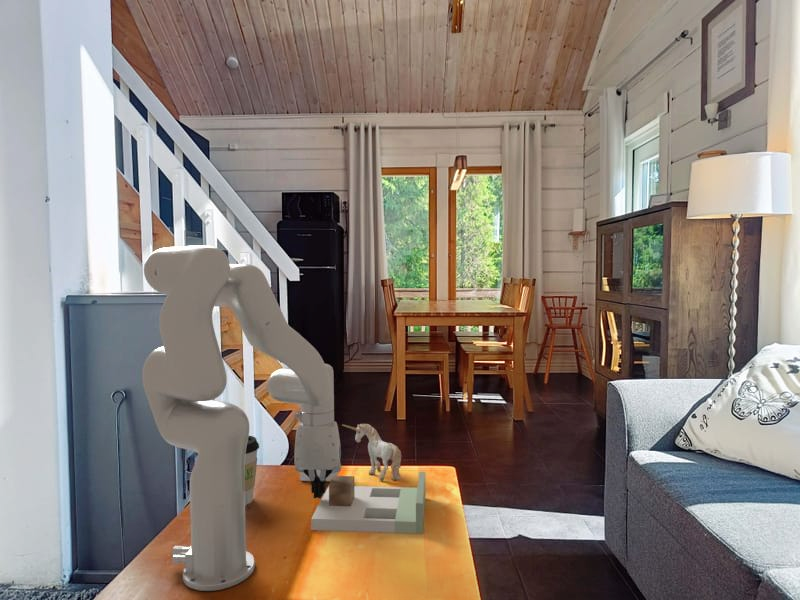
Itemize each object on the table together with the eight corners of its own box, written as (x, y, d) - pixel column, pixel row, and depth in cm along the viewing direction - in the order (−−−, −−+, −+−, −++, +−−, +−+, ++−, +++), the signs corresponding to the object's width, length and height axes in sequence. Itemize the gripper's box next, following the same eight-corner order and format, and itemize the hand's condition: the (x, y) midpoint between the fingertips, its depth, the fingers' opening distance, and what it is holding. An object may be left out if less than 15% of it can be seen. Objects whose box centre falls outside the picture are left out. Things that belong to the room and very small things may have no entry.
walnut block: (329, 505, 119) (328, 484, 119) (333, 496, 124) (333, 475, 124) (350, 506, 119) (350, 484, 119) (354, 497, 124) (354, 476, 124)
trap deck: (311, 530, 113) (311, 500, 113) (329, 495, 131) (328, 469, 131) (423, 533, 111) (422, 503, 111) (425, 497, 129) (425, 471, 129)
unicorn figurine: (358, 464, 153) (358, 418, 152) (414, 478, 141) (414, 429, 141) (342, 471, 147) (341, 424, 146) (398, 487, 136) (398, 436, 135)
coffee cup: (209, 507, 125) (207, 444, 124) (234, 491, 134) (233, 432, 133) (244, 513, 121) (243, 449, 121) (268, 496, 131) (267, 436, 130)
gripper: (280, 421, 118) (282, 502, 119) (346, 422, 117) (347, 503, 118) (290, 413, 125) (291, 488, 126) (352, 413, 124) (353, 490, 125)
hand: (318, 495), depth 122 cm, fingers closed
